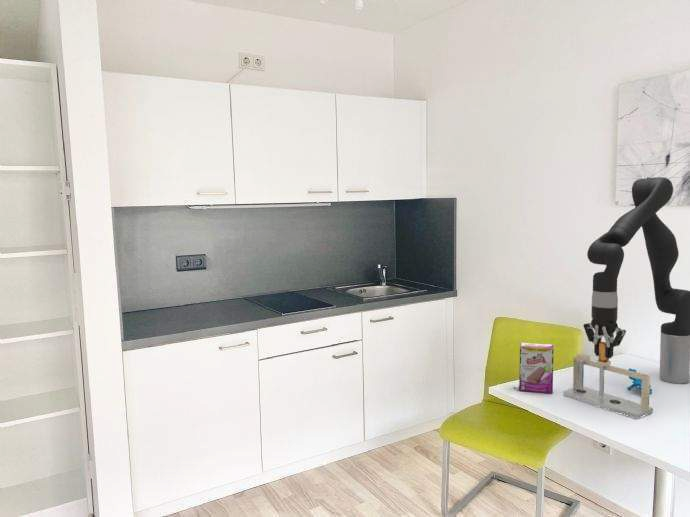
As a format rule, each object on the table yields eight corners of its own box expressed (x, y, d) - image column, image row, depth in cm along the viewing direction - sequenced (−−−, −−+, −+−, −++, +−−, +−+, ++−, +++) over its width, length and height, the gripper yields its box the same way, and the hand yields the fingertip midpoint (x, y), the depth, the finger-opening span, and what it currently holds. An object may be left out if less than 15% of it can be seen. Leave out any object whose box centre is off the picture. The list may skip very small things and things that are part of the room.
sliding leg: (601, 393, 174) (602, 341, 172) (610, 395, 171) (611, 343, 169) (595, 395, 172) (596, 342, 170) (604, 397, 169) (605, 344, 168)
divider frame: (579, 389, 183) (580, 351, 181) (652, 412, 162) (654, 369, 160) (563, 395, 178) (564, 355, 177) (636, 419, 157) (637, 374, 156)
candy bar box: (519, 391, 183) (519, 345, 181) (519, 386, 188) (519, 342, 186) (553, 394, 179) (553, 347, 178) (552, 389, 184) (553, 343, 182)
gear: (647, 394, 172) (626, 368, 177) (632, 403, 175) (612, 378, 181) (659, 390, 179) (638, 365, 185) (645, 399, 183) (625, 374, 188)
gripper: (632, 306, 164) (631, 359, 166) (591, 300, 176) (590, 350, 178) (618, 309, 161) (617, 364, 162) (577, 302, 173) (577, 353, 174)
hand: (603, 356), depth 170 cm, fingers closed on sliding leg, 3 cm apart
